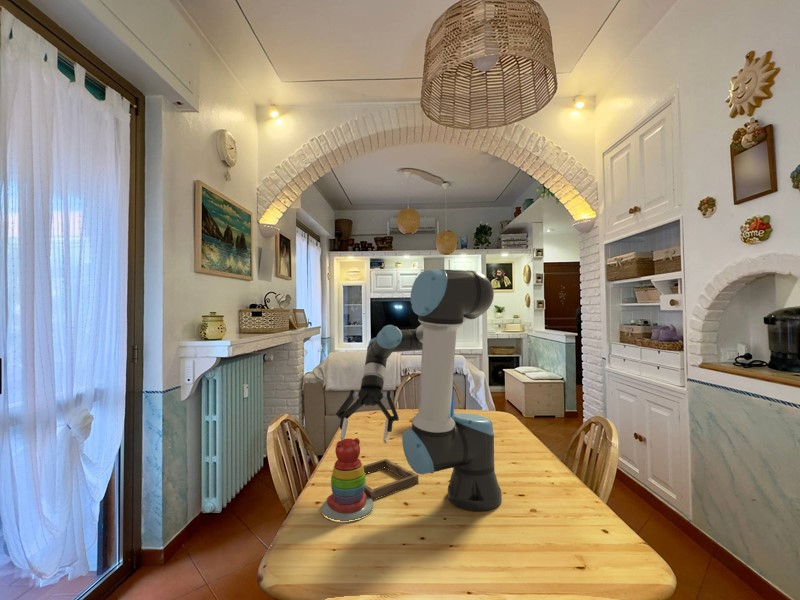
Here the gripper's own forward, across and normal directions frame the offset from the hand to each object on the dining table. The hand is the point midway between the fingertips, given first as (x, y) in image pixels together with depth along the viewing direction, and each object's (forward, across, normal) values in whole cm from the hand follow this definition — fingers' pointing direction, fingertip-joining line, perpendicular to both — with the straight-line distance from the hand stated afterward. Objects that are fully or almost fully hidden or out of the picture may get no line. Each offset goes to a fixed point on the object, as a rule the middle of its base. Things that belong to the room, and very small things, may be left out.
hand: (363, 440), depth 118 cm
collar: (+8, -4, -12) cm, 15 cm away
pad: (+19, +1, +2) cm, 19 cm away
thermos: (-34, -21, -64) cm, 75 cm away
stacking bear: (+18, +1, +2) cm, 19 cm away
